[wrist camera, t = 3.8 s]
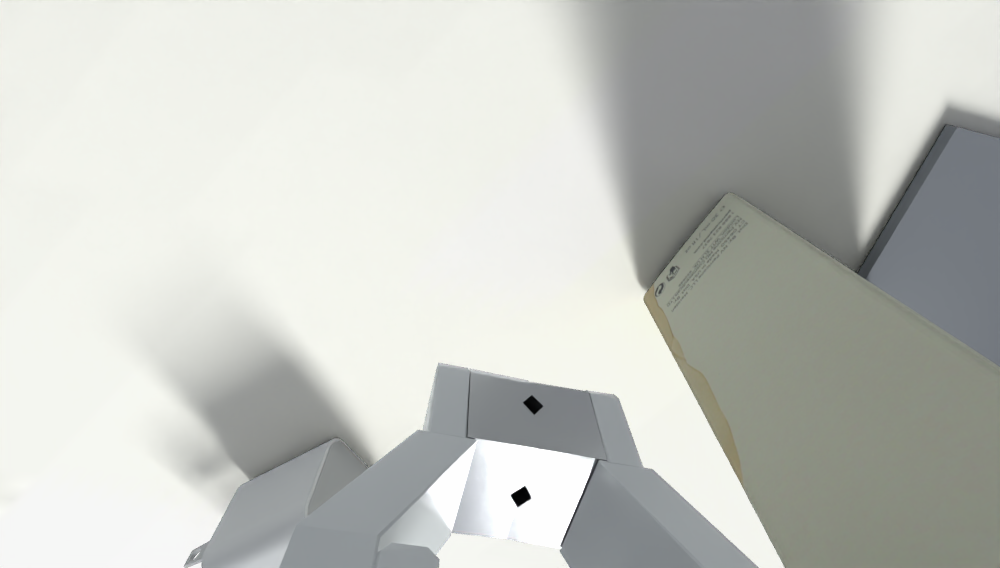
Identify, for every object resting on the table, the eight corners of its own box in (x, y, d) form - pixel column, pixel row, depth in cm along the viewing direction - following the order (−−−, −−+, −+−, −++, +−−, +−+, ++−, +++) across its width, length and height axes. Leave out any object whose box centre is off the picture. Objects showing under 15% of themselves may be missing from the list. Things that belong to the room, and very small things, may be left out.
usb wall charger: (396, 495, 21) (378, 592, 18) (264, 555, 23) (222, 657, 19) (333, 430, 19) (298, 522, 16) (195, 499, 21) (135, 598, 17)
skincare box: (637, 295, 17) (844, 755, 6) (730, 181, 15) (1248, 525, 4) (783, 383, 18) (1180, 902, 7) (884, 285, 17) (1600, 764, 6)
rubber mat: (758, 440, 20) (763, 447, 20) (946, 124, 15) (957, 126, 15) (963, 476, 21) (971, 484, 21) (1204, 193, 16) (1220, 198, 16)
